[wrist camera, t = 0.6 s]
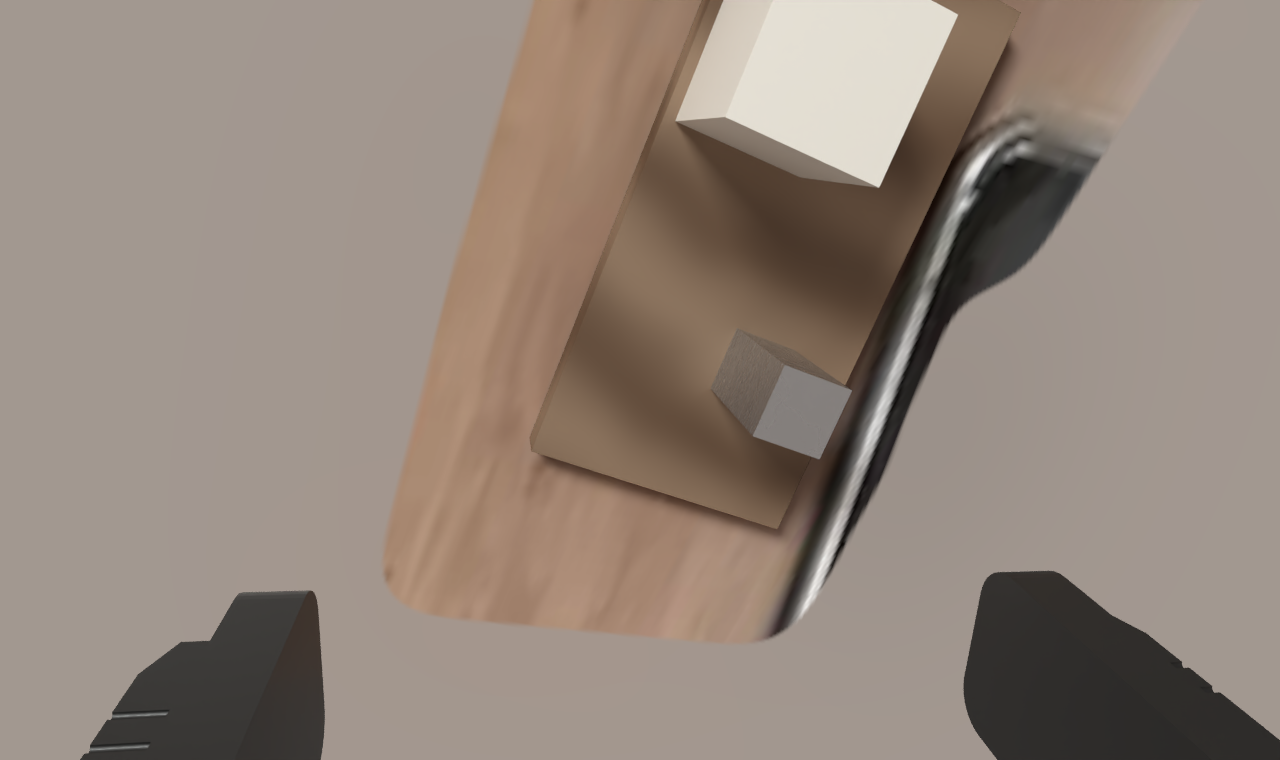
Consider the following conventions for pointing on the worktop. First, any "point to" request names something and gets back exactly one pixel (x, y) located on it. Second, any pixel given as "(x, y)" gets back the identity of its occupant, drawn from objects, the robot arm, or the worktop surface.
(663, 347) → the board
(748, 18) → the white rectangular block
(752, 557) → the worktop surface
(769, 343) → the post
